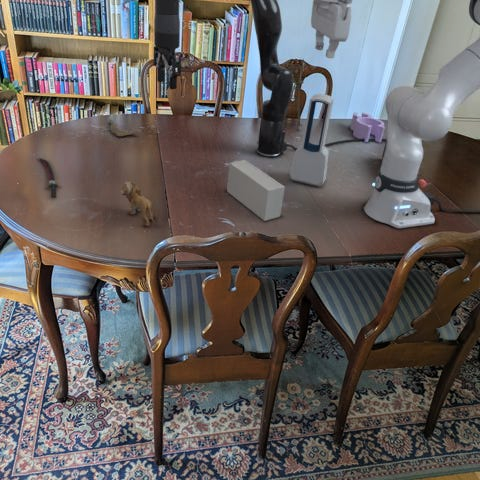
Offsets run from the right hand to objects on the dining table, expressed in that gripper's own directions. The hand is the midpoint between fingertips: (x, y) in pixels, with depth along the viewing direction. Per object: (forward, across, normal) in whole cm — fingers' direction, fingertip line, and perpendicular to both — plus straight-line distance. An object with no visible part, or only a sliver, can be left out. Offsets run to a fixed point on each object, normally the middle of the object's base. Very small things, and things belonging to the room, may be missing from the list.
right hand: (324, 53), depth 120 cm
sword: (+48, +22, +78) cm, 94 cm away
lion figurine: (+48, -2, +48) cm, 68 cm away
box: (+48, +7, +12) cm, 50 cm away
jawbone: (+48, +69, +56) cm, 101 cm away
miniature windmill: (+48, +81, -18) cm, 96 cm away
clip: (+48, +74, -52) cm, 102 cm away
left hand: (+18, +29, +40) cm, 52 cm away
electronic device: (+48, +24, -10) cm, 54 cm away
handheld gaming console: (+48, +34, -47) cm, 75 cm away
